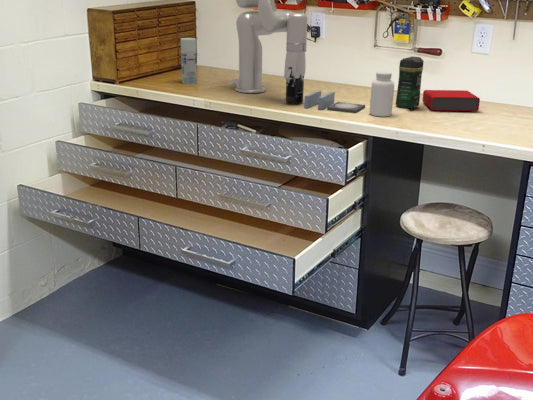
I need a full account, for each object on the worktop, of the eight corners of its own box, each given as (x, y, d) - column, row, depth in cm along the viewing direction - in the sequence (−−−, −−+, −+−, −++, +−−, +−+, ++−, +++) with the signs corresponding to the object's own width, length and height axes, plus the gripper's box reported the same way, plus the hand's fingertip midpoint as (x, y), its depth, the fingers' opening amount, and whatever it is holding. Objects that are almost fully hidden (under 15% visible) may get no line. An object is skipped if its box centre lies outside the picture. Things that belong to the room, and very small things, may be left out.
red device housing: (467, 103, 251) (468, 90, 249) (478, 110, 238) (480, 97, 236) (422, 102, 251) (423, 89, 249) (430, 110, 238) (432, 97, 236)
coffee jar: (412, 109, 236) (417, 59, 230) (392, 107, 241) (396, 57, 234) (422, 105, 244) (427, 56, 237) (402, 102, 248) (407, 54, 242)
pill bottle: (386, 118, 223) (390, 75, 218) (365, 115, 227) (368, 72, 222) (395, 113, 229) (398, 72, 224) (374, 111, 233) (377, 70, 228)
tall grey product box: (180, 84, 278) (178, 38, 271) (194, 83, 281) (192, 37, 274) (184, 87, 273) (183, 39, 266) (199, 86, 276) (197, 39, 269)
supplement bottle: (301, 105, 241) (302, 73, 237) (284, 104, 243) (284, 72, 238) (304, 101, 248) (305, 70, 244) (287, 100, 249) (287, 69, 245)
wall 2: (317, 109, 235) (318, 97, 233) (330, 103, 246) (331, 91, 244) (321, 109, 234) (322, 97, 232) (334, 103, 245) (334, 92, 243)
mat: (327, 109, 234) (327, 106, 234) (337, 104, 243) (337, 101, 243) (355, 113, 230) (355, 110, 229) (365, 107, 239) (365, 104, 238)
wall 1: (304, 107, 237) (304, 95, 235) (317, 101, 248) (317, 90, 246) (307, 108, 236) (308, 96, 235) (320, 102, 247) (321, 90, 246)
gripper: (296, 44, 247) (295, 90, 253) (277, 49, 232) (276, 97, 238) (314, 45, 244) (312, 92, 250) (296, 50, 229) (294, 99, 235)
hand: (295, 94), depth 244 cm, fingers closed on supplement bottle, 6 cm apart
